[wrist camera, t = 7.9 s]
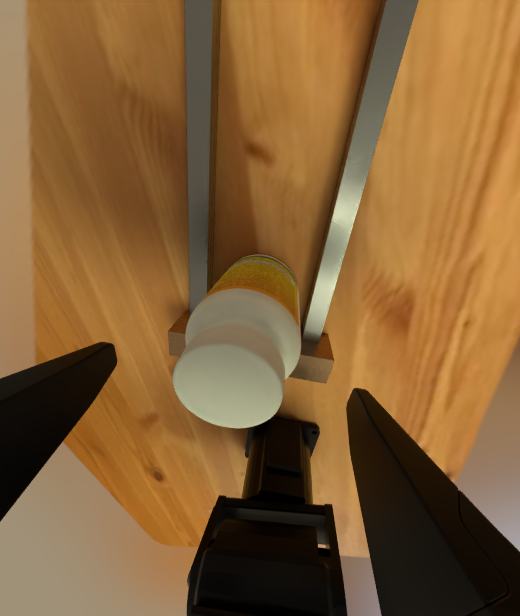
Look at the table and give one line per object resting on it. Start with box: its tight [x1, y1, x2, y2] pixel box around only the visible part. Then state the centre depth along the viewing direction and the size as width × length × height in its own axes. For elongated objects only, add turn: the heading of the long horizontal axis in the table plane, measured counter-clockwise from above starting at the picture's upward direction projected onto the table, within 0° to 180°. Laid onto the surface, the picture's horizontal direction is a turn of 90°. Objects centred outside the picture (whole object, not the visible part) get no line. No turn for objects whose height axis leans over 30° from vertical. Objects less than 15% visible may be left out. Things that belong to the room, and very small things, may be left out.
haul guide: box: [168, 0, 419, 384], centre depth 13 cm, size 19×11×3 cm, turn 173°
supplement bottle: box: [173, 254, 301, 428], centre depth 13 cm, size 5×5×10 cm
